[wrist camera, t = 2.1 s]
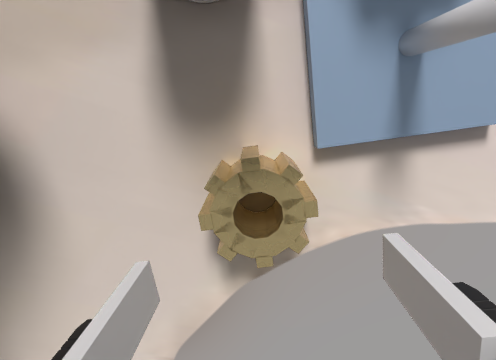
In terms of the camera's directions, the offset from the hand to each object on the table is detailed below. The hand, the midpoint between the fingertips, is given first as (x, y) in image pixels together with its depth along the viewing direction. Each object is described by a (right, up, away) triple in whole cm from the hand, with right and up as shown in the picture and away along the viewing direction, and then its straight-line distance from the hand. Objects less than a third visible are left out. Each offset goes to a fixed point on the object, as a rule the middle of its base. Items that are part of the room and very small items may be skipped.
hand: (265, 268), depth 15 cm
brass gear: (0, +4, +12) cm, 12 cm away
